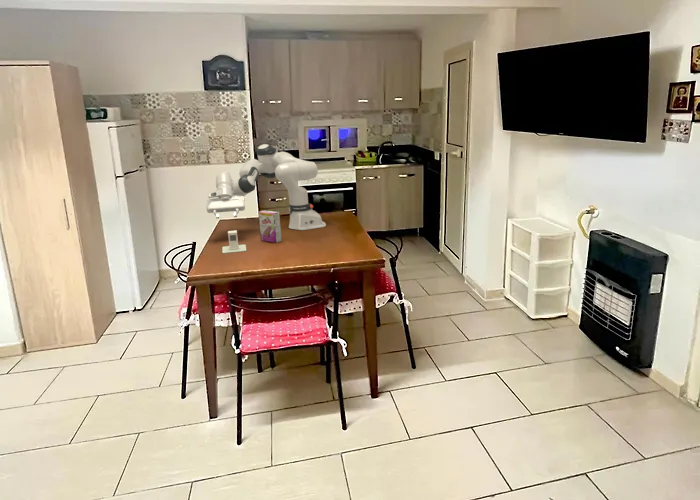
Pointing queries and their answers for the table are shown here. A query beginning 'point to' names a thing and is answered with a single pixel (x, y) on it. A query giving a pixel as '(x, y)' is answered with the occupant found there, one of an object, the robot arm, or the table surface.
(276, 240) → the candy bar box
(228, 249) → the board
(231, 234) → the white device with screen
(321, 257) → the table surface
